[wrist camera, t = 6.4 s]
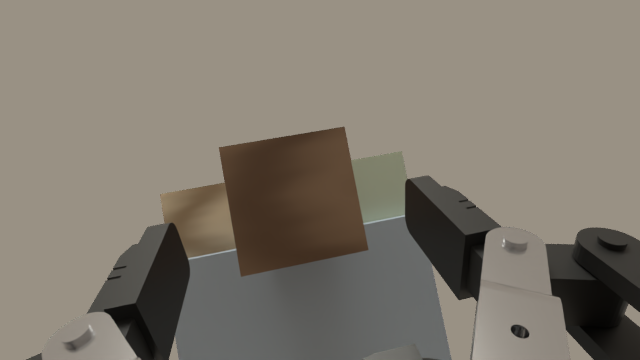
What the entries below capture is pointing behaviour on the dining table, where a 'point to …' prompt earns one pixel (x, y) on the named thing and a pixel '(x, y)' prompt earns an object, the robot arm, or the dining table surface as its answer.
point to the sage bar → (380, 186)
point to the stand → (316, 305)
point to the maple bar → (200, 219)
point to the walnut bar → (292, 200)
